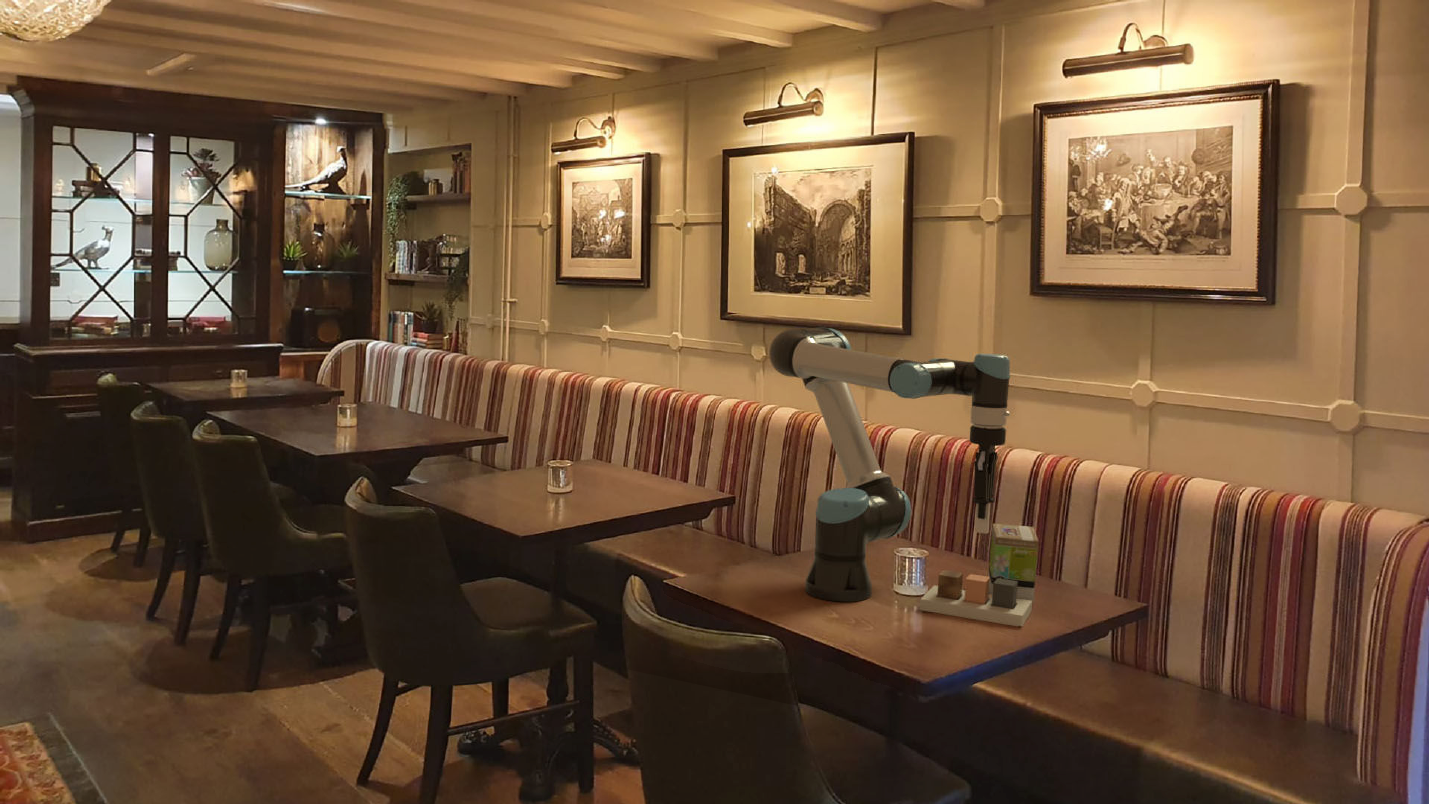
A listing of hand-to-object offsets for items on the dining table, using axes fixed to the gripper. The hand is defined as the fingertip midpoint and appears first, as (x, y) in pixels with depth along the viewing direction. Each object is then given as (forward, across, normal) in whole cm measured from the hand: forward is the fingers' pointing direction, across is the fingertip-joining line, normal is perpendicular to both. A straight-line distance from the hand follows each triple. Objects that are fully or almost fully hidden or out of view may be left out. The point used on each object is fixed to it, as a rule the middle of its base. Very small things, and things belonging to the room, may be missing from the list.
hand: (981, 532), depth 243 cm
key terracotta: (+15, 0, 0) cm, 15 cm away
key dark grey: (+15, 0, -6) cm, 16 cm away
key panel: (+18, 0, 0) cm, 18 cm away
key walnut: (+15, 0, +6) cm, 17 cm away
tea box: (+18, +19, -4) cm, 27 cm away
